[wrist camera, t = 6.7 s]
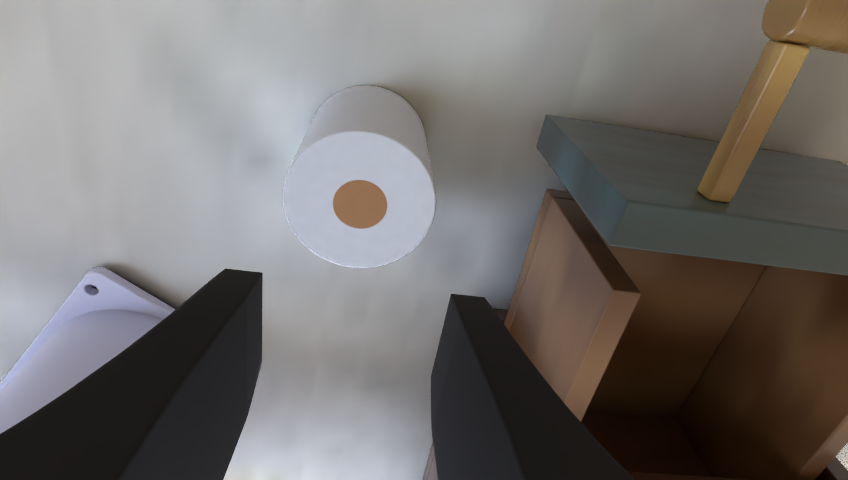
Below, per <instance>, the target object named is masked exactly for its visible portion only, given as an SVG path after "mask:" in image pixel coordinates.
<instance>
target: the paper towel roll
mask: <svg viewBox="0 0 848 480" xmlns="http://www.w3.org/2000/svg"><path fill="white" fill-rule="evenodd" d="M283 207H284V211H285V215H286V218H287V220H288V223H289V225H290V227H291V228H292V230H293V232H294V233H295V235H296V236H297V237H298V239H299V240H300V241H301V242H302V243H303V244H304V245H305V246H306V247H307V248H308V249H309V250H311V251H312V252H313V253H315V254H316V255H318V256H319V257H321V258H323V259H325V260H327V261H329V262H332V263H335V264H338V265H342V266H346V267H353V268H371V267H378V266H383V265H386V264H389V263H392V262H394V261H397V260H399V259H401V258H402V257H404V256H406V255H407V254H409V253H410V252H411V251H412V250H414V249H415V248H416V247H417V246H418V245H419V244H420V243H421V241H422V240H423V239H424V237H425V236H426V235H427V233H428V231H429V229H430V227H431V225H432V222H433V219H434V215H435V211H436V192H435V186H434V181H433V175H432V170H431V164H430V158H429V153H428V147H427V142H426V136H425V131H424V127H423V125H422V122H421V120H420V118H419V116H418V114H417V113H416V111H415V110H414V108H413V107H412V106H411V105H410V104H409V103H408V102H407V101H406V100H404V99H403V98H402V97H400V96H399V95H397V94H396V93H394V92H392V91H390V90H387V89H384V88H381V87H376V86H367V85H363V86H354V87H350V88H346V89H344V90H341V91H339V92H337V93H335V94H334V95H332V96H331V97H330V98H328V99H327V100H326V101H325V102H324V103H323V104H322V105H321V106H320V108H319V109H318V110H317V112H316V114H315V116H314V118H313V120H312V122H311V124H310V126H309V128H308V130H307V132H306V134H305V136H304V138H303V141H302V143H301V145H300V147H299V149H298V151H297V153H296V155H295V157H294V159H293V161H292V163H291V166H290V168H289V170H288V172H287V175H286V178H285V181H284V186H283Z"/></svg>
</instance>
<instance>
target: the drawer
mask: <svg viewBox="0 0 848 480" xmlns="http://www.w3.org/2000/svg"><path fill="white" fill-rule="evenodd" d="M762 29H763V32H764V34H765V35H766V36H767V37H768V38H769V39H771V40H769V41H768V43H767V45H766V47H765V49H764V51H763V53H762V55H761V57H760V59H759V61H758V64H757V66H756V68H755V70H754V72H753V74H752V76H751V78H750V80H749V82H748V84H747V86H746V89H745V91H744V93H743V95H742V97H741V99H740V101H739V103H738V105H737V107H736V109H735V112H734V114H733V116H732V118H731V120H730V122H729V124H728V126H727V128H726V130H725V132H724V135H723V137H722V139H721V141H720V142H715V141H708V140H702V139H696V138H689V137H683V136H677V135H671V134H664V133H658V132H652V131H645V130H639V129H633V128H627V127H620V126H614V125H608V124H601V123H595V122H589V121H583V120H576V119H570V118H564V117H558V116H551V115H546V116H545V119H544V123H543V126H542V130H541V133H540V137H539V140H538V143H537V149H538V150H539V151H540V153H541V154H542V156H543V157H544V158H545V160H546V161H547V162H548V164H549V165H550V166H551V168H552V169H553V170H554V172H555V173H556V175H557V176H558V177H559V179H560V180H561V181H562V183H563V184H564V185H565V187H566V188H567V189H568V191H562V190H554V189H547V190H546V193H545V196H544V199H543V202H542V205H541V209H540V212H539V215H538V218H537V221H536V224H535V227H534V231H533V234H532V237H531V240H530V243H529V246H528V250H527V253H526V256H525V259H524V262H523V265H522V269H521V272H520V275H519V278H518V281H517V284H516V287H515V291H514V294H513V297H512V300H511V303H510V306H509V310H508V313H507V316H506V319H505V322H504V325H505V326H506V328H507V329H508V331H509V332H510V333H511V335H512V336H513V338H514V339H515V340H516V342H517V343H518V344H519V346H520V347H521V348H522V350H523V351H524V353H525V354H526V355H527V357H528V358H529V359H530V360H531V362H532V363H533V364H534V366H535V367H536V368H537V370H538V371H539V372H540V373H541V375H542V376H543V377H544V379H545V380H546V381H547V382H548V384H549V385H550V386H551V387H552V389H553V390H554V391H555V392H556V394H557V395H558V396H559V397H560V398H561V400H562V401H563V402H564V403H565V404H566V406H567V407H568V408H569V409H570V410H571V411H572V413H573V414H574V415H575V416H576V417H577V418H578V419H579V421H580V422H581V423H582V424H583V425H584V426H585V427H586V428H587V430H588V431H589V432H590V433H591V434H592V435H593V436H594V438H595V439H596V440H597V441H598V442H599V443H600V444H601V445H602V446H603V447H604V448H605V449H606V451H607V452H608V453H609V454H610V455H611V456H612V457H613V458H614V459H615V460H616V461H617V462H618V463H619V464H620V465H621V466H622V467H623V468H624V469H625V470H626V471H628V472H644V473H660V474H676V475H693V476H709V477H725V478H741V479H757V480H815V479H816V478H817V477H818V476H819V474H820V473H821V472H822V471H823V470H824V469H825V468H826V466H827V465H828V464H829V463H830V462H831V461H832V460H833V459H834V457H835V456H836V455H837V454H838V453H839V452H840V451H841V449H842V448H843V447H844V446H845V445H846V444H847V443H848V165H846V164H844V163H842V162H840V161H834V160H828V159H821V158H815V157H809V156H802V155H796V154H790V153H784V152H777V151H771V150H765V149H759V147H760V145H761V143H762V141H763V139H764V137H765V136H766V134H767V132H768V130H769V128H770V126H771V124H772V122H773V120H774V118H775V116H776V115H777V113H778V111H779V109H780V107H781V105H782V103H783V101H784V99H785V97H786V95H787V93H788V92H789V90H790V88H791V86H792V84H793V82H794V80H795V78H796V76H797V74H798V72H799V70H800V69H801V67H802V65H803V63H804V61H805V59H806V57H807V55H808V53H809V51H810V49H809V48H808V47H812V48H817V49H822V50H828V51H833V52H838V53H843V54H848V0H769V2H768V4H767V6H766V8H765V11H764V14H763V18H762ZM801 45H802V46H801ZM806 46H807V47H806Z"/></svg>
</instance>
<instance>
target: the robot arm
mask: <svg viewBox="0 0 848 480" xmlns="http://www.w3.org/2000/svg"><path fill="white" fill-rule="evenodd" d="M90 285H94V286H95V287H97V288H98V289H94V288H92V287H91V286H90ZM261 362H262V273H259V272H250V271H241V270H232V269H225V270H223V271H222V272H220V273H219V274H218V275H217V276H215V277H214V278H213V279H212V280H210V281H209V282H208V283H207V284H206V285H204V286H203V287H202V288H201V289H200V290H198V291H197V292H196V293H195V294H194V295H192V296H191V297H190V298H189V299H188V300H186V301H185V302H184V303H183V304H182V305H180V306H179V307H178V308H177V309H176V310H175V309H174V308H172V307H170V306H169V305H167V304H165V303H164V302H162V301H160V300H159V299H157V298H155V297H154V296H152V295H150V294H148V293H147V292H145V291H143V290H142V289H140V288H138V287H137V286H135V285H133V284H132V283H130V282H128V281H127V280H125V279H123V278H122V277H120V276H118V275H116V274H115V273H113V272H111V271H110V270H108V269H106V268H103V267H95V268H92V269H91V270H90V271H89V272H88V273H87V274H86V275H85V276H84V278H83V279H82V280H81V281H80V283H79V284H78V285H77V286H76V288H75V289H74V290H73V291H72V293H71V294H70V295H69V297H68V298H67V299H66V300H65V302H64V303H63V304H62V305H61V307H60V308H59V309H58V310H57V312H56V313H55V314H54V316H53V317H52V318H51V319H50V321H49V322H48V323H47V324H46V326H45V327H44V328H43V330H42V331H41V332H40V333H39V335H38V336H37V337H36V338H35V340H34V341H33V342H32V343H31V345H30V346H29V347H28V349H27V350H26V351H25V352H24V354H23V355H22V356H21V357H20V359H19V360H18V361H17V362H16V364H15V365H14V366H13V368H12V369H11V370H10V371H9V373H8V374H7V375H6V376H5V378H4V379H3V380H2V382H1V383H0V480H223V479H224V476H225V473H226V471H227V468H228V466H229V463H230V461H231V458H232V455H233V453H234V450H235V447H236V445H237V442H238V440H239V437H240V434H241V432H242V429H243V426H244V424H245V421H246V418H247V416H248V412H249V408H250V405H251V401H252V397H253V393H254V390H255V386H256V382H257V378H258V374H259V371H260V368H261ZM431 423H432V437H433V445H434V453H435V461H436V469H437V477H438V480H635V479H634V478H633V477H632V476H631V475H630V474H629V473H628V472H627V471H626V470H625V469H624V468H623V467H622V466H621V465H620V464H619V463H618V462H617V461H616V460H615V459H614V458H613V457H612V456H611V455H610V454H609V453H608V452H607V451H606V449H605V448H604V447H603V446H602V445H601V444H600V443H599V442H598V441H597V440H596V439H595V438H594V436H593V435H592V434H591V433H590V432H589V431H588V430H587V428H586V427H585V426H584V425H583V424H582V423H581V422H580V421H579V419H578V418H577V417H576V416H575V415H574V414H573V413H572V411H571V410H570V409H569V408H568V407H567V406H566V404H565V403H564V402H563V401H562V400H561V398H560V397H559V396H558V395H557V394H556V392H555V391H554V390H553V389H552V387H551V386H550V385H549V384H548V382H547V381H546V380H545V379H544V377H543V376H542V375H541V373H540V372H539V371H538V370H537V368H536V367H535V366H534V364H533V363H532V362H531V360H530V359H529V358H528V357H527V355H526V354H525V353H524V351H523V350H522V348H521V347H520V346H519V344H518V343H517V342H516V340H515V339H514V338H513V336H512V335H511V333H510V332H509V331H508V329H507V328H506V326H505V325H504V324H503V322H502V321H501V319H500V318H499V317H498V315H497V314H496V313H495V311H494V310H493V308H492V307H491V306H490V304H489V303H488V302H487V300H486V299H485V298H484V297H475V296H466V295H457V294H451V297H450V301H449V305H448V309H447V313H446V317H445V322H444V326H443V330H442V334H441V338H440V342H439V346H438V350H437V354H436V358H435V362H434V367H433V371H432V375H431Z"/></svg>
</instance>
